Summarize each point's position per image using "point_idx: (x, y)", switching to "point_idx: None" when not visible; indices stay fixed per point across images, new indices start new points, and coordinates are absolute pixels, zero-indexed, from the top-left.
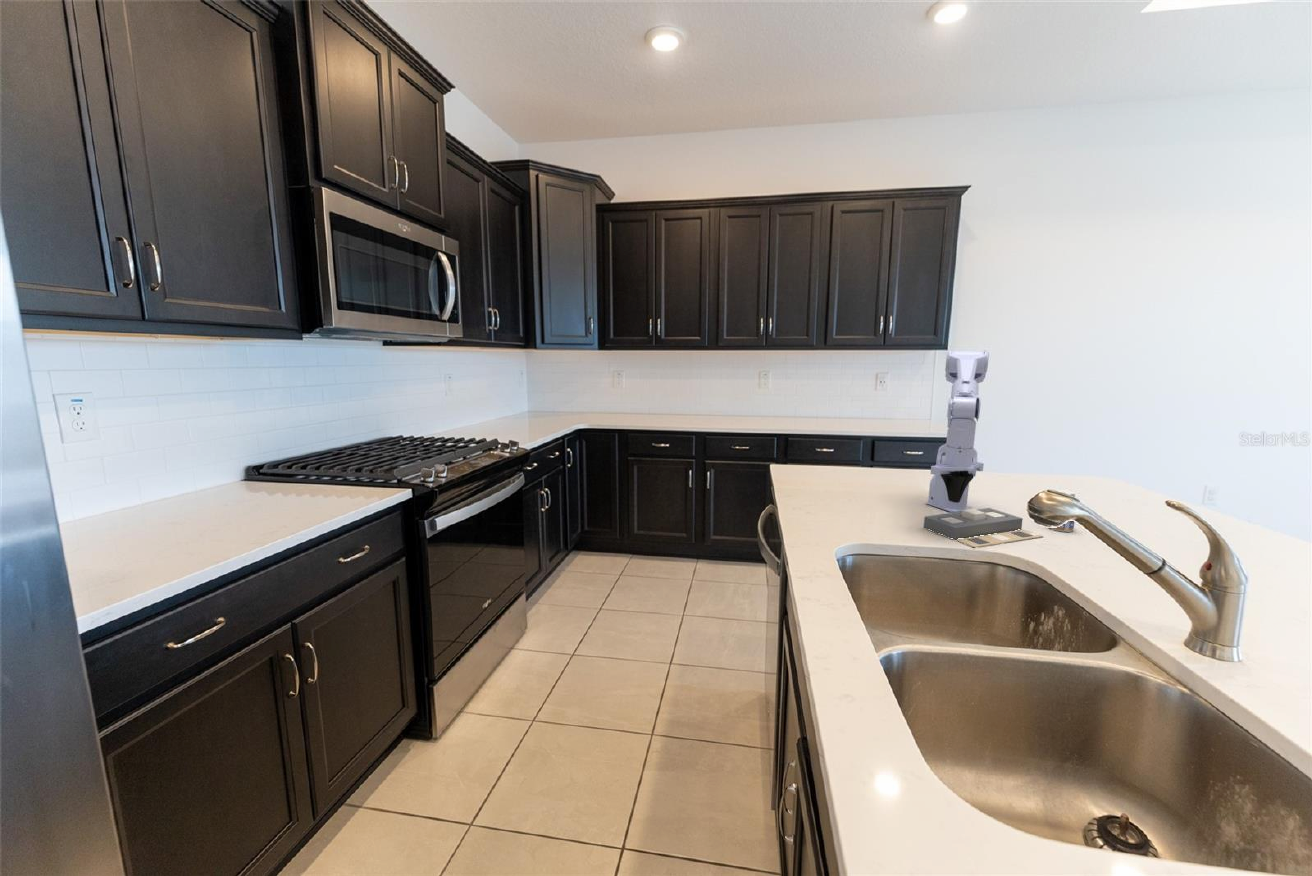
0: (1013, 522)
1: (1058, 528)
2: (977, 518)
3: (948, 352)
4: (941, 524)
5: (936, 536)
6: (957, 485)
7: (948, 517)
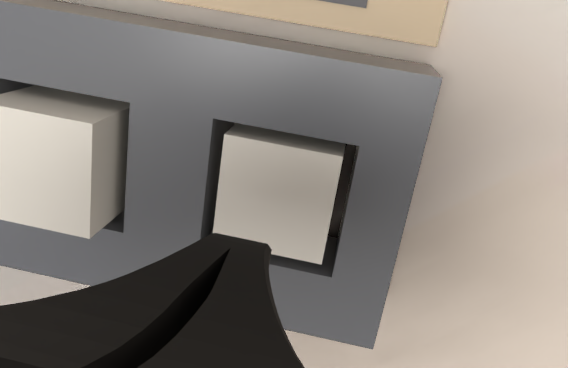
0: None
1: None
2: (82, 109)
3: None
4: (407, 202)
5: (462, 170)
6: (295, 354)
7: None
